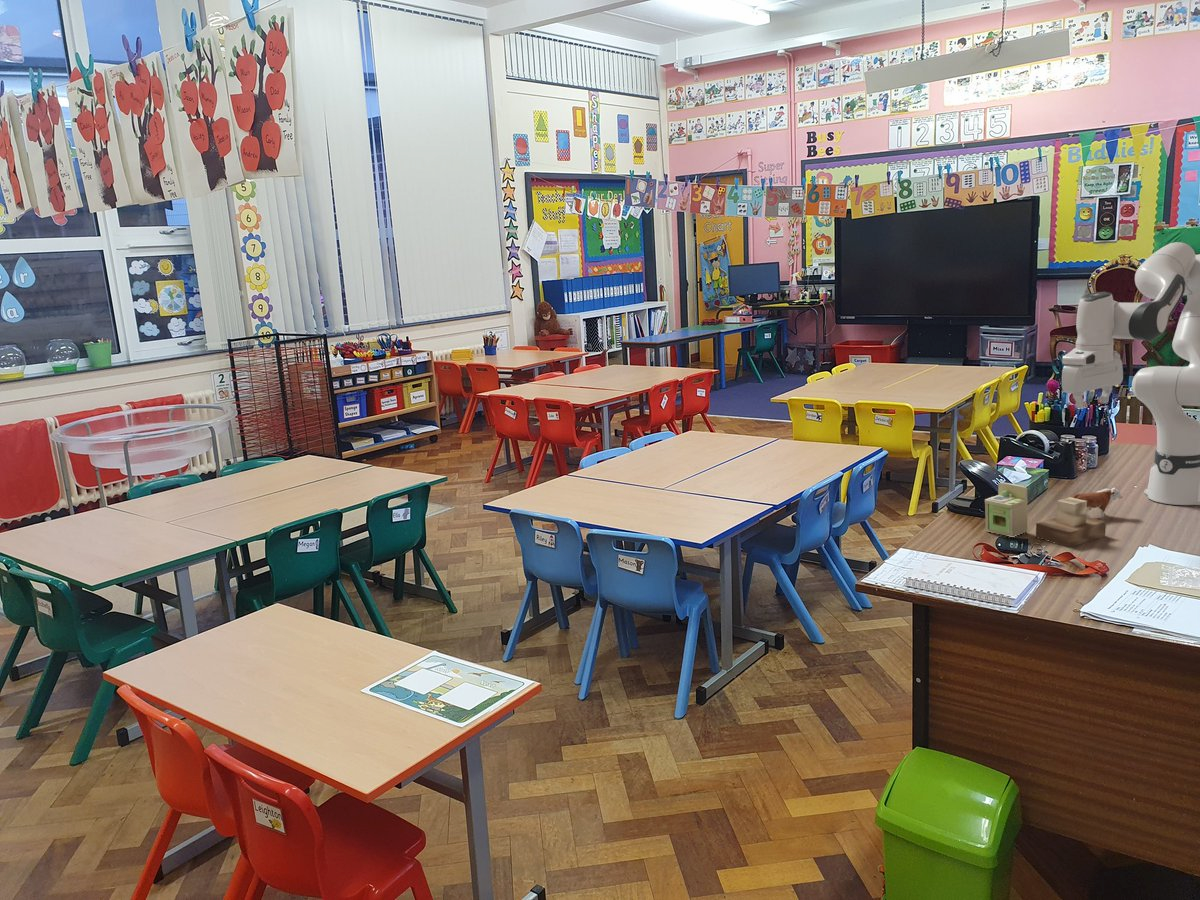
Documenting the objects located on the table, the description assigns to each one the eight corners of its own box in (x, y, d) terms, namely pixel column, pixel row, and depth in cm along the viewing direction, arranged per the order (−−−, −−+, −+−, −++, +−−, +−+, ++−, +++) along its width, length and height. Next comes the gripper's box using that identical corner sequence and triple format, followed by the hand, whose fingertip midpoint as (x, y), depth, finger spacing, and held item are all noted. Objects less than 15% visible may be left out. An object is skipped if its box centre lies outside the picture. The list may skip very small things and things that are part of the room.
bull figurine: (1124, 516, 250) (1125, 488, 248) (1075, 520, 250) (1076, 492, 249) (1115, 512, 254) (1116, 484, 252) (1067, 515, 255) (1068, 488, 253)
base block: (1071, 527, 245) (1071, 513, 244) (1105, 535, 236) (1105, 521, 235) (1035, 537, 239) (1036, 523, 238) (1069, 547, 230) (1070, 532, 230)
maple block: (1069, 518, 240) (1069, 497, 239) (1086, 522, 236) (1086, 501, 234) (1056, 522, 238) (1056, 500, 237) (1073, 526, 234) (1074, 504, 232)
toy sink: (983, 532, 247) (983, 486, 244) (999, 526, 251) (1000, 481, 248) (1010, 539, 240) (1011, 492, 237) (1027, 532, 244) (1028, 486, 241)
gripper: (1108, 349, 245) (1106, 398, 248) (1057, 358, 237) (1056, 409, 240) (1130, 350, 239) (1128, 401, 242) (1079, 359, 231) (1077, 412, 234)
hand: (1092, 405), depth 241 cm, fingers open, 8 cm apart
